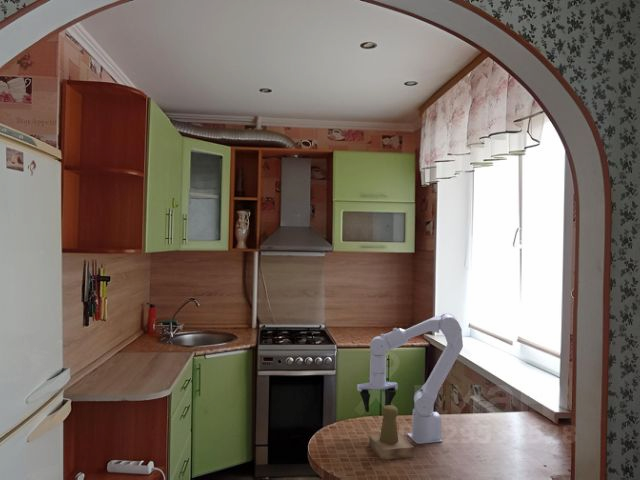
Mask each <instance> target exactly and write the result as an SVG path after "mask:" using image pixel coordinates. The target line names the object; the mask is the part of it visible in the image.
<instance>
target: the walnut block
mask: <svg viewBox="0 0 640 480" xmlns="http://www.w3.org/2000/svg"><path fill="white" fill-rule="evenodd" d="M368 446H370V448H371V449H372V450H373V451H374V452H375V454H376V455H377V456H378V457H379V459H380V460H391V459H393V460H395V459H400V458H401V459H403V458H412V457H413V458H414V457H415V446H414V445H413V444H412V443H411V442H409V440H408V439H406V437H404V435H402V434H401V432H398V442H397V443H395V444H386V443H383V442H381V441H380V434H375V435H368Z"/></svg>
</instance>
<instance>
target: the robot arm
mask: <svg viewBox="0 0 640 480" xmlns="http://www.w3.org/2000/svg"><path fill="white" fill-rule="evenodd" d="M440 331H441V333H442V334H443V336H444V337H445V340H446V345H445V348H444V349H443V351H442V352H441V355H440V357H439V358H438V360H437V362H436V364H435V365H434V367H433V368H432V371H431V372H430V374H429V376H428V377H427V380H426V382H425V383H424V384H423V385H422V386H421V388H420V389H418V390H417V391H415V393H414V395H413V401H414V408H413V409H412V417H411V418H412V419H411V420H412V421H411V422H412V423H411V432H408V433H407V436H408V437H409V438H410V439H411V440H412V441H413V442H415V443H416V444H418V445H419V444H430V443H440V442H441V443H442V442H443V440H442V419H441V416H440V414H439V412H438V411H434V407H435V406H434V405H435V402H436V401H437V400H436V399H437V396H438V392H439V391H440V389H441V387H442V386H443V383H444V382H445V380H446V378H447V376H448V375H449V373H450V371H451V370H452V367H453V366H454V364H455V362H456V361H457V359H458V356H459V355H460V353H461V351H462V350H463V347H464V344H463V343H464V341H463V330H462V327H461V325H460V322H459V321H458V320H457V318H456V317H455V316H454V315H453V314H451V313H442V314H441V315H436V316H433V317H431V318H428V319H426V320H424V321H421V322H420V323H418V324H415V325H413V326H410V327H409V328H406V329H403V328H401V327H398V328H397V327H394V328H392V331H390V332H385V333H381V334H380V336H379V335H378V336H375V337H373V338H372V339H371V342H370V345H369V349H370V357H369V382H365V383H360V384H358V383H357V385H356V390H357V391H358V393H359V394H360V396H361V399H362V403H363V407H364V411H365V412H366V413H369V412H370V397H371V393H370V392H369V391H378V390H384V406H386V405H391V406H392V401H393V399H394V398H395V396H396V394H397V390H398V387H399V385H398V383H397V382H396V381H393V382H392V381H391V382H390V381H387V351H391V350H394V349H396V348H398V347H401V346H403V345H406V344H407V343H408V341H409V339H411V338H412V339H413V338H415V337H417V336H420V335H422V334H425V333H429V332H433V333H437V334H440Z"/></svg>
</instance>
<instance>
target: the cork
mask: <svg viewBox="0 0 640 480" xmlns="http://www.w3.org/2000/svg"><path fill="white" fill-rule="evenodd" d="M381 414H382V416H383V417H382V421H381V422H382V423H381V430H380V434H379V435H380V441H381V442H383V443H386V444H395V443H397V442H398V433H399V432H398V426H397V425H398V424H397V416H398V414H399V411H398V408H397V407H396V406H395V405H392V404H391V405H386V406H385V405H384V406H383V407H382V408H381Z"/></svg>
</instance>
